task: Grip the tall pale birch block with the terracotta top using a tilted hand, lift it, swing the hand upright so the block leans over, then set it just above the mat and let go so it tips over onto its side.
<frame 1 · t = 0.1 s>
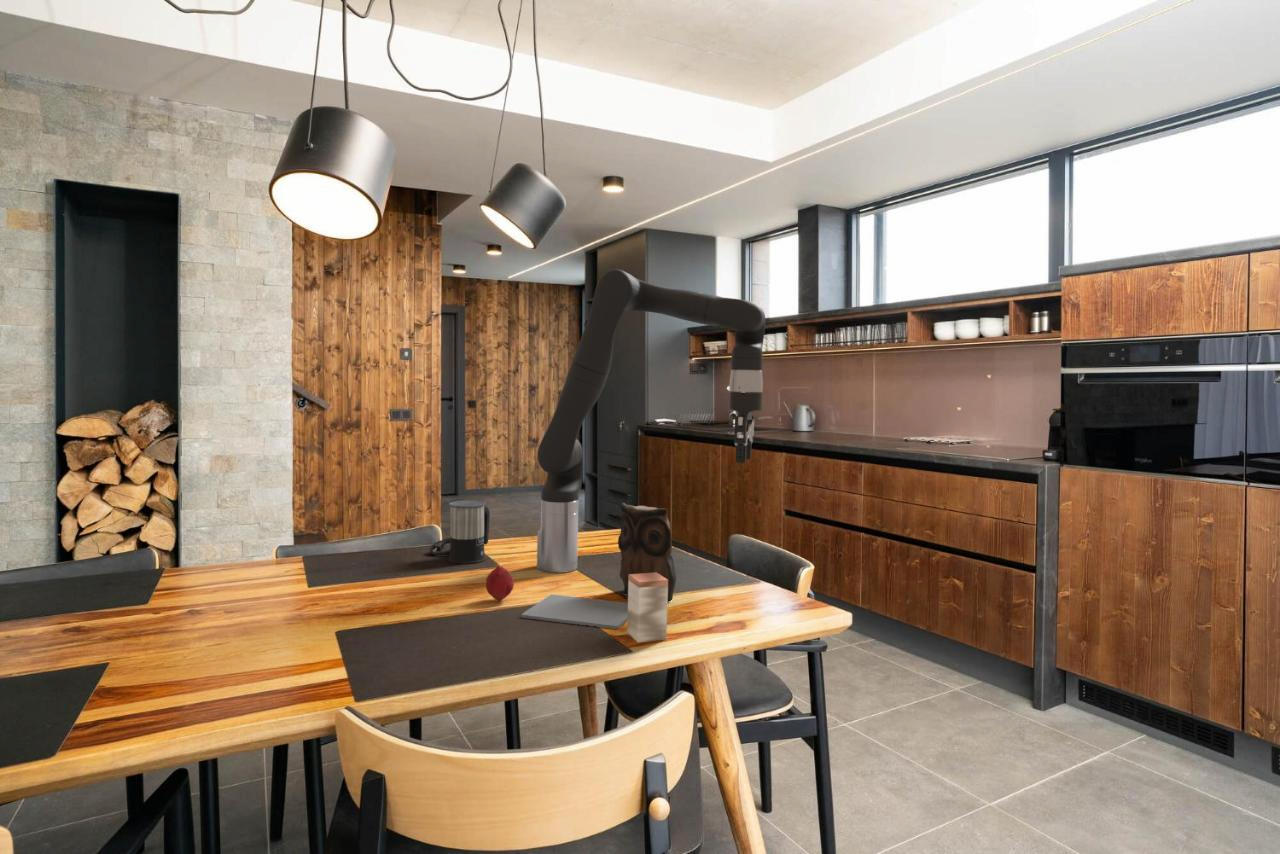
hand: (743, 460, 171), 29 cm above the table, tool pointing down, fingers open, 8 cm apart
block: (646, 635, 137), on the table
owl: (653, 594, 165), on the table
onion: (499, 601, 157), on the table
mat: (582, 612, 150), on the table
milk frother: (456, 558, 194), on the table
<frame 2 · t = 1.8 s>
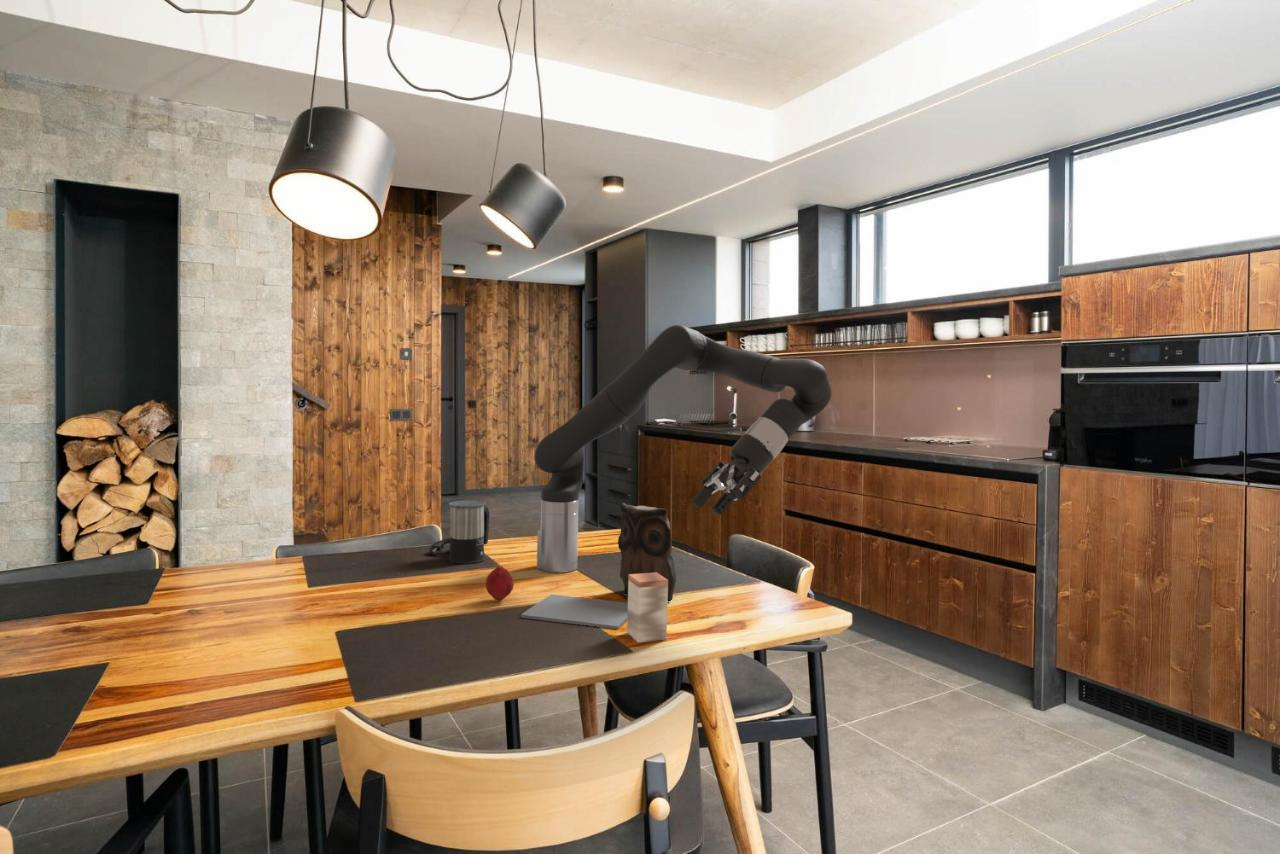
hand: (705, 508, 140), 23 cm above the table, tool tilted 45°, fingers open, 8 cm apart
nothing on the table moved.
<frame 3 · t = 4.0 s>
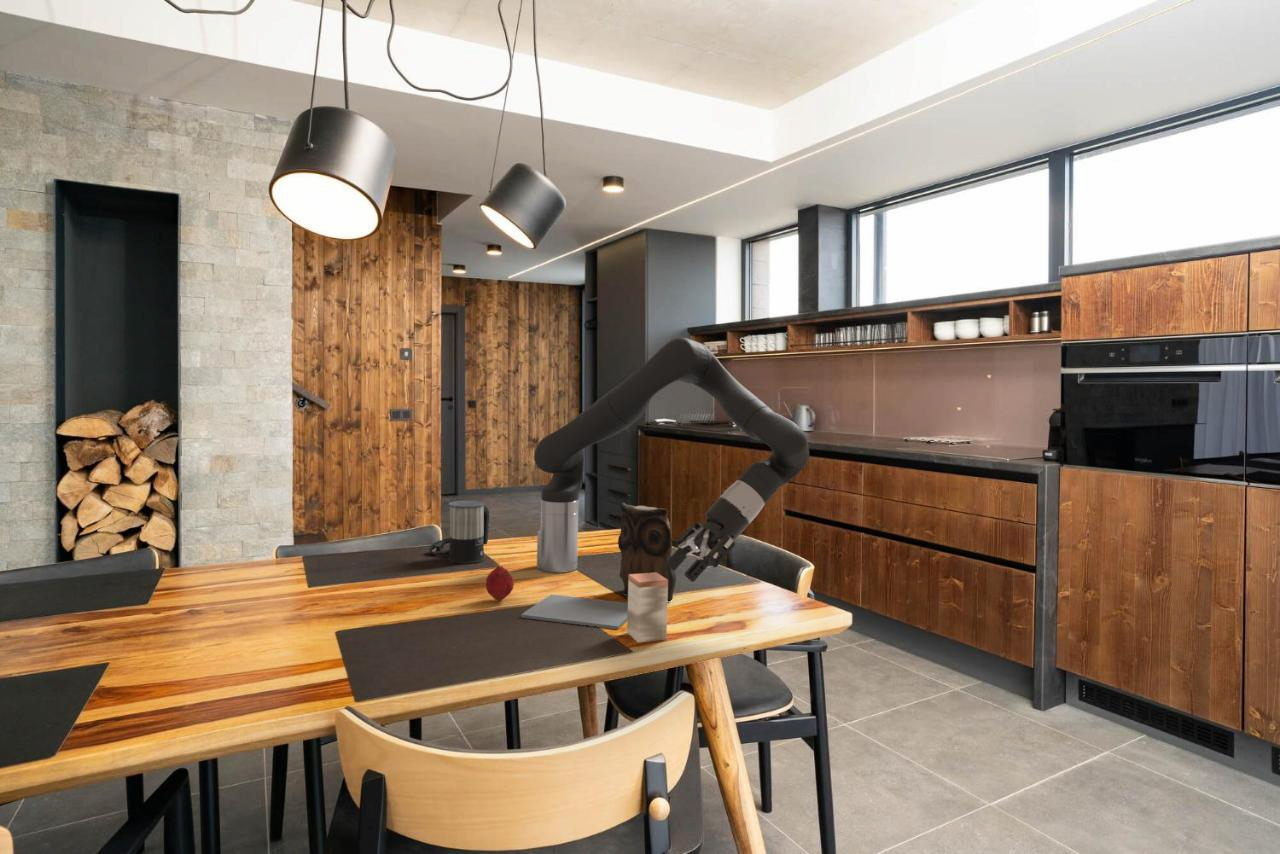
hand: (678, 572, 139), 11 cm above the table, tool tilted 45°, fingers open, 8 cm apart
nothing on the table moved.
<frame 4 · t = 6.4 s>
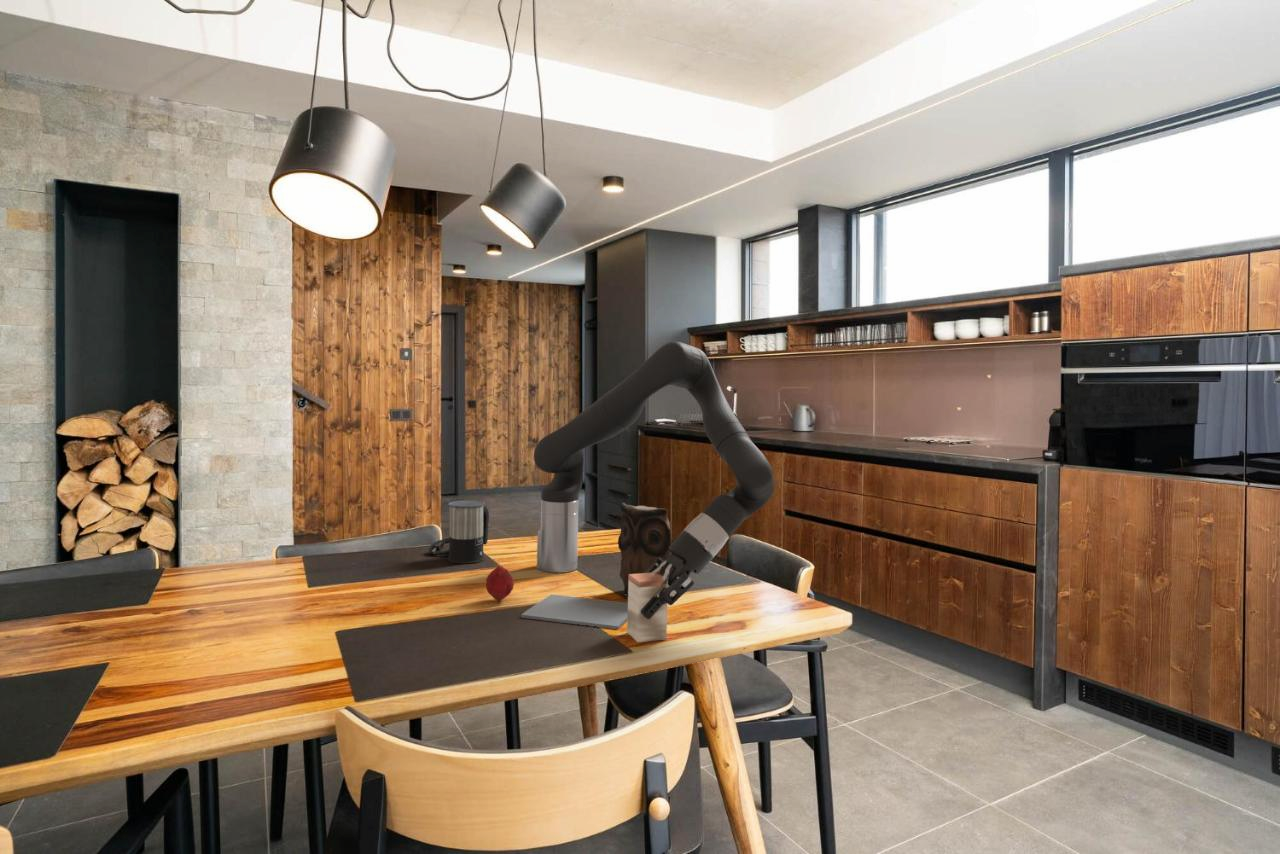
hand: (638, 610, 136), 5 cm above the table, tool tilted 45°, fingers closed on block, 5 cm apart
block: (646, 635, 137), on the table, touching gripper
everything else where it was.
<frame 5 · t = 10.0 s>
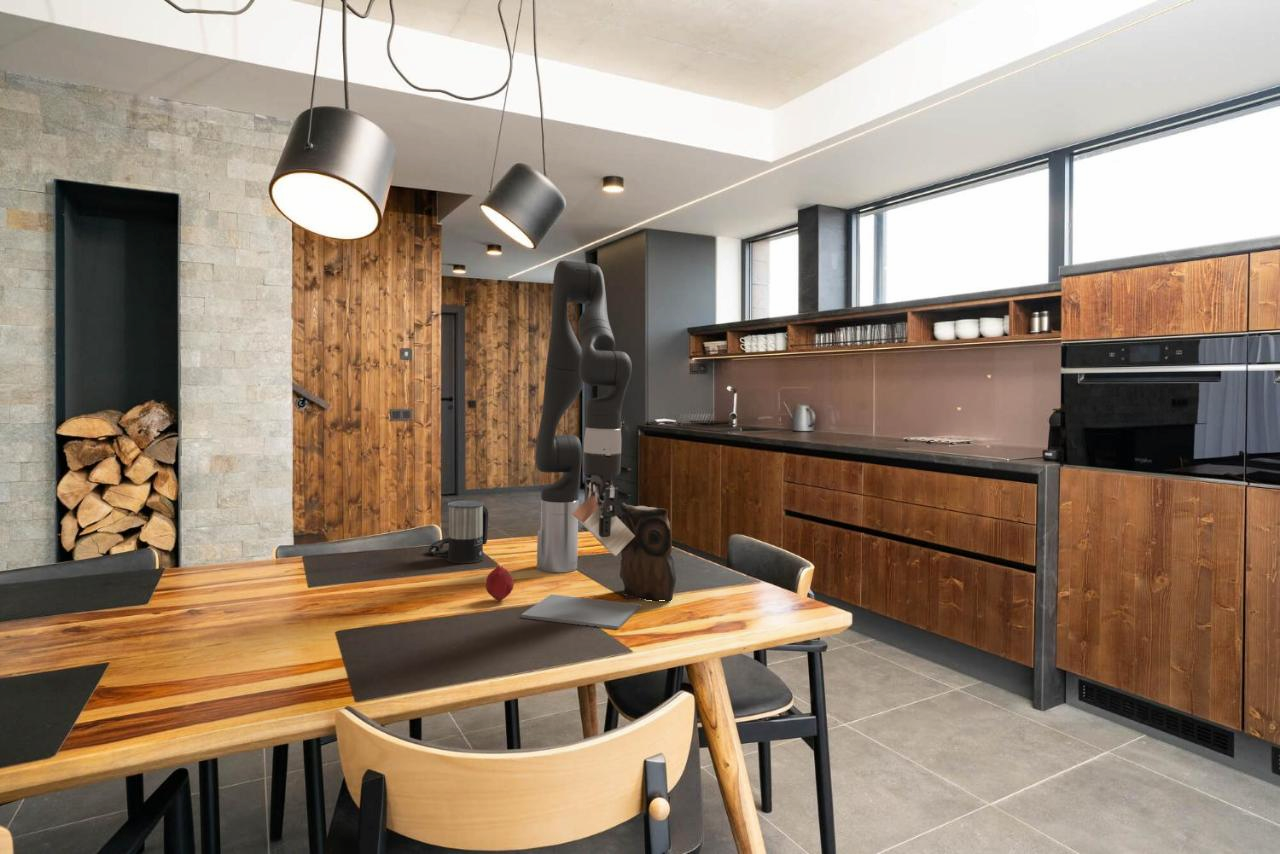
hand: (599, 532, 151), 16 cm above the table, tool pointing down, fingers closed on block, 5 cm apart
block: (620, 542, 153), point 14 cm above the table, tilted 45°, touching gripper
everything else where it was.
when the fingers open (6 cm above the table, at t = 12.8 s): block moves 2 cm and tips over, resting on mat.
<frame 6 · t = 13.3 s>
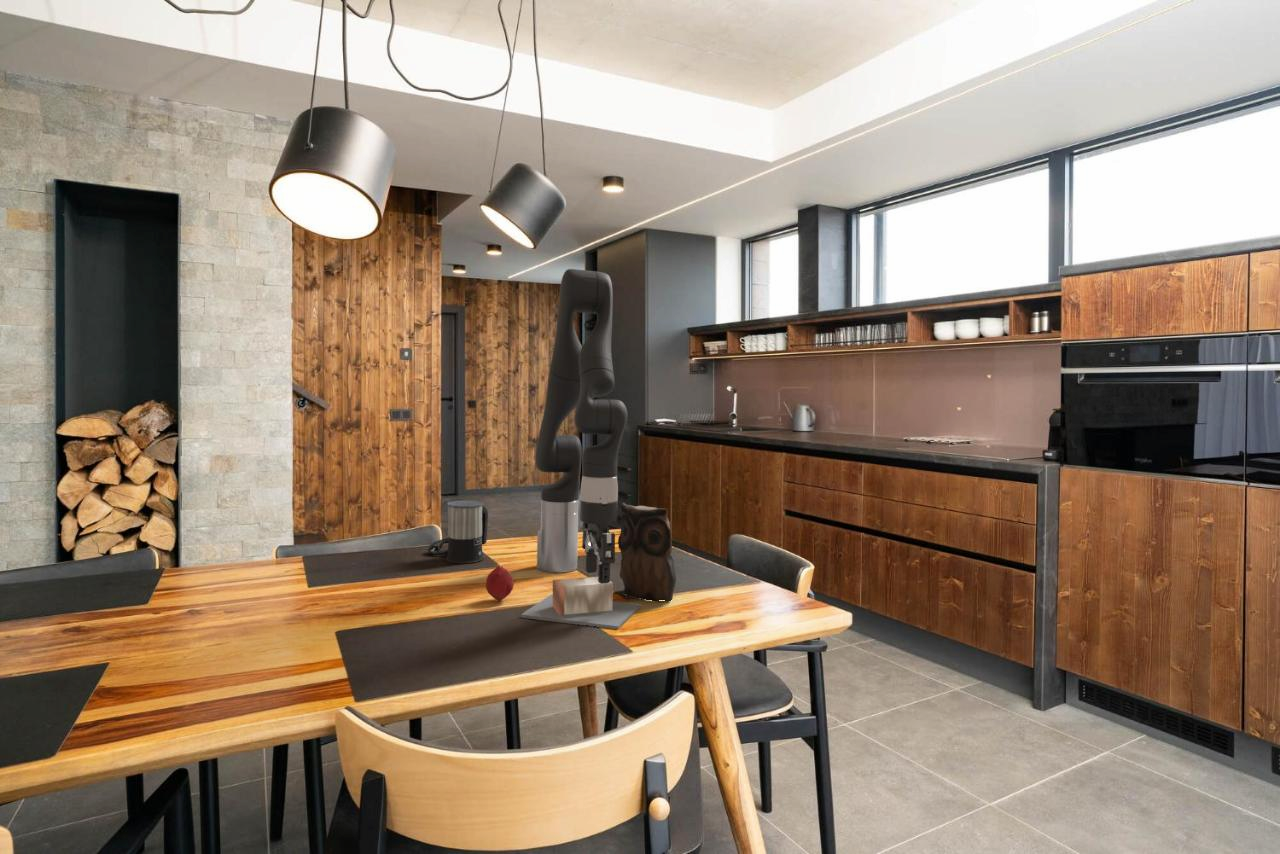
hand: (597, 577, 151), 7 cm above the table, tool pointing down, fingers open, 8 cm apart
block: (608, 593, 152), point 3 cm above the table, tilted 90°, touching mat
everything else where it was.
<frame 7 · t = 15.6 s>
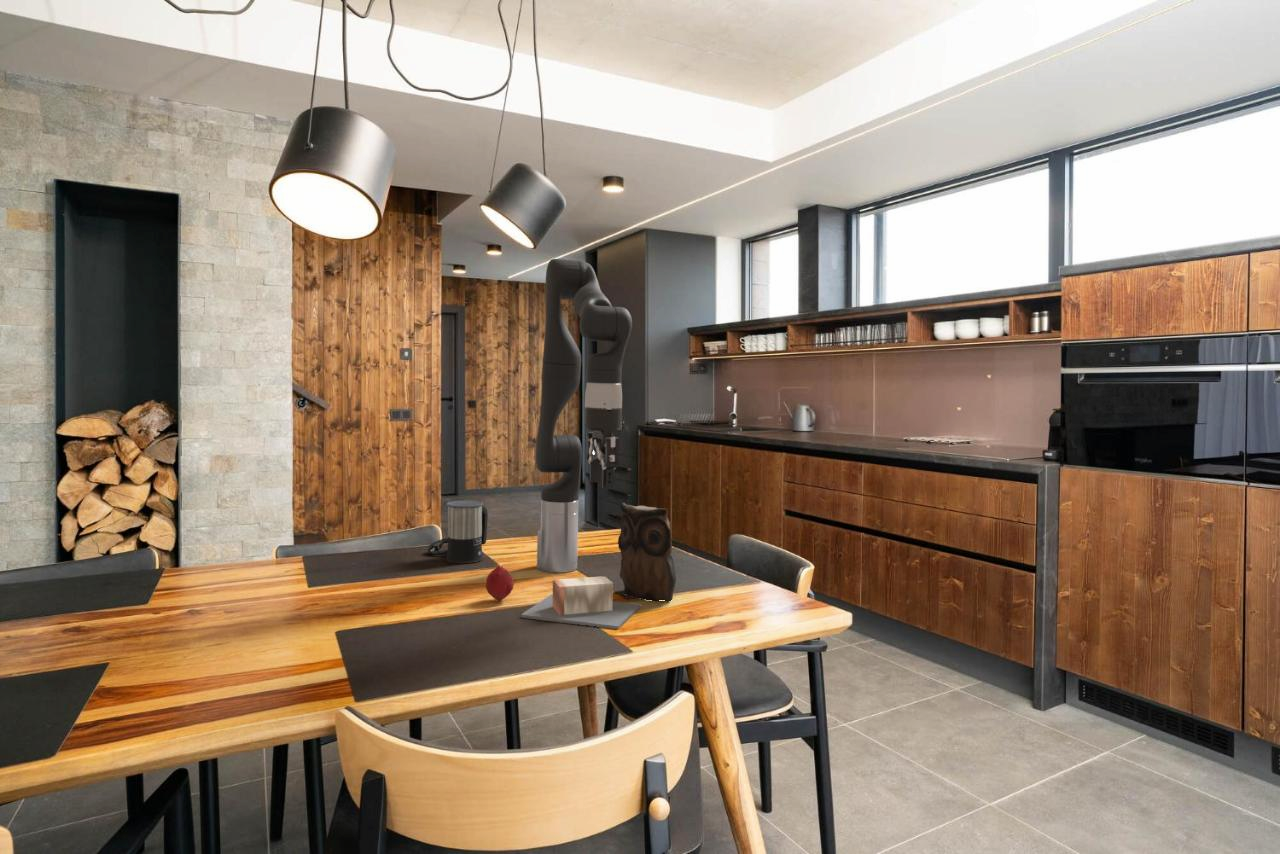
hand: (601, 485, 152), 26 cm above the table, tool pointing down, fingers open, 8 cm apart
nothing on the table moved.
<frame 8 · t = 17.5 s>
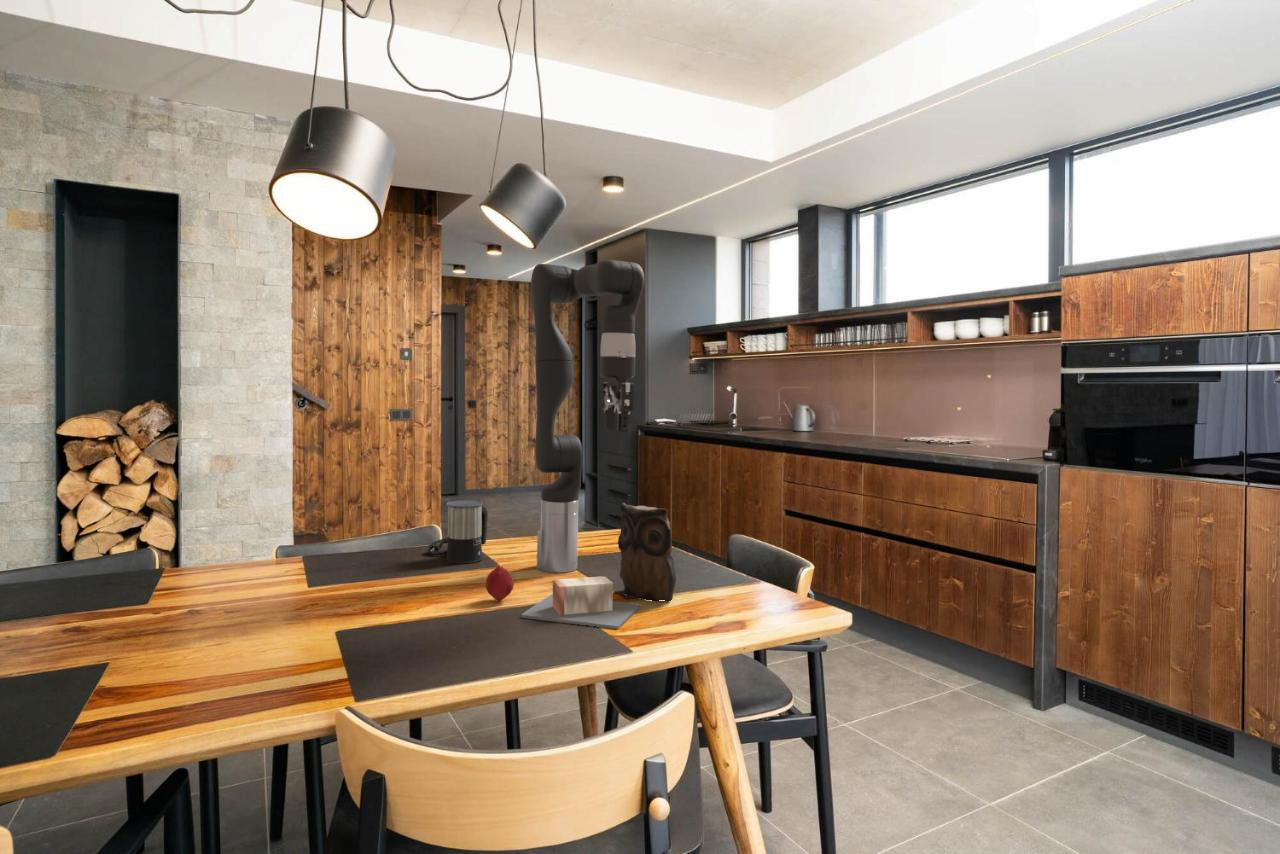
hand: (616, 430, 160), 36 cm above the table, tool pointing down, fingers open, 8 cm apart
nothing on the table moved.
at the end: block tilted 90°; block inside the target area on the mat (5.5 cm from its centre), point 3.4 cm above the mat's base; the gripper is holding nothing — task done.
